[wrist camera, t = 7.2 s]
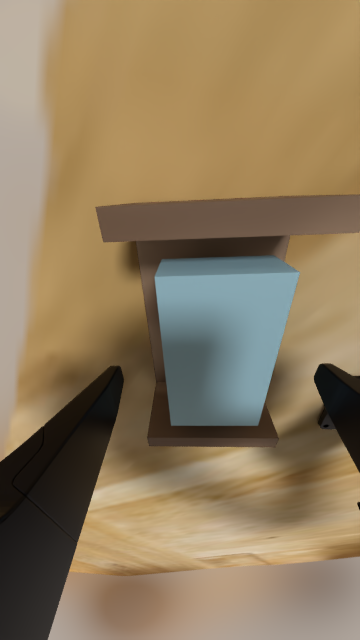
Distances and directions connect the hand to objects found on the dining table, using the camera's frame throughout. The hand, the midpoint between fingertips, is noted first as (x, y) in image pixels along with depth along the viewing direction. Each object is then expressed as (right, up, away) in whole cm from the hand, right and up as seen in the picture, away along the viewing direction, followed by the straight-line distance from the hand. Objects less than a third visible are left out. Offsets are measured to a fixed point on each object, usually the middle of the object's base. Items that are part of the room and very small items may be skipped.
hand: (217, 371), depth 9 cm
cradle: (0, +3, +4) cm, 5 cm away
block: (0, +1, +2) cm, 3 cm away
